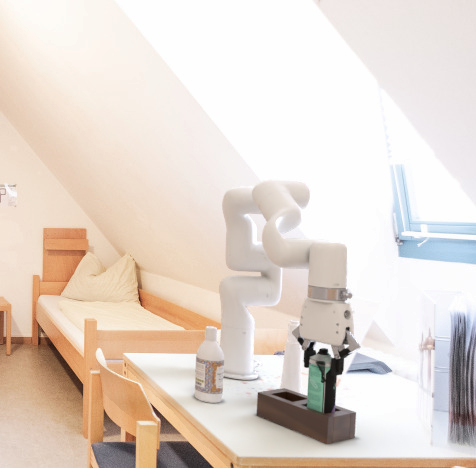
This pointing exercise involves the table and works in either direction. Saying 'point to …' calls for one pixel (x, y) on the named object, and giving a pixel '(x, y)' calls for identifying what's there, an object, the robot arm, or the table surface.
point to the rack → (305, 416)
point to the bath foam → (209, 368)
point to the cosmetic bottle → (292, 362)
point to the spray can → (321, 383)
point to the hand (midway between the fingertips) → (322, 370)
